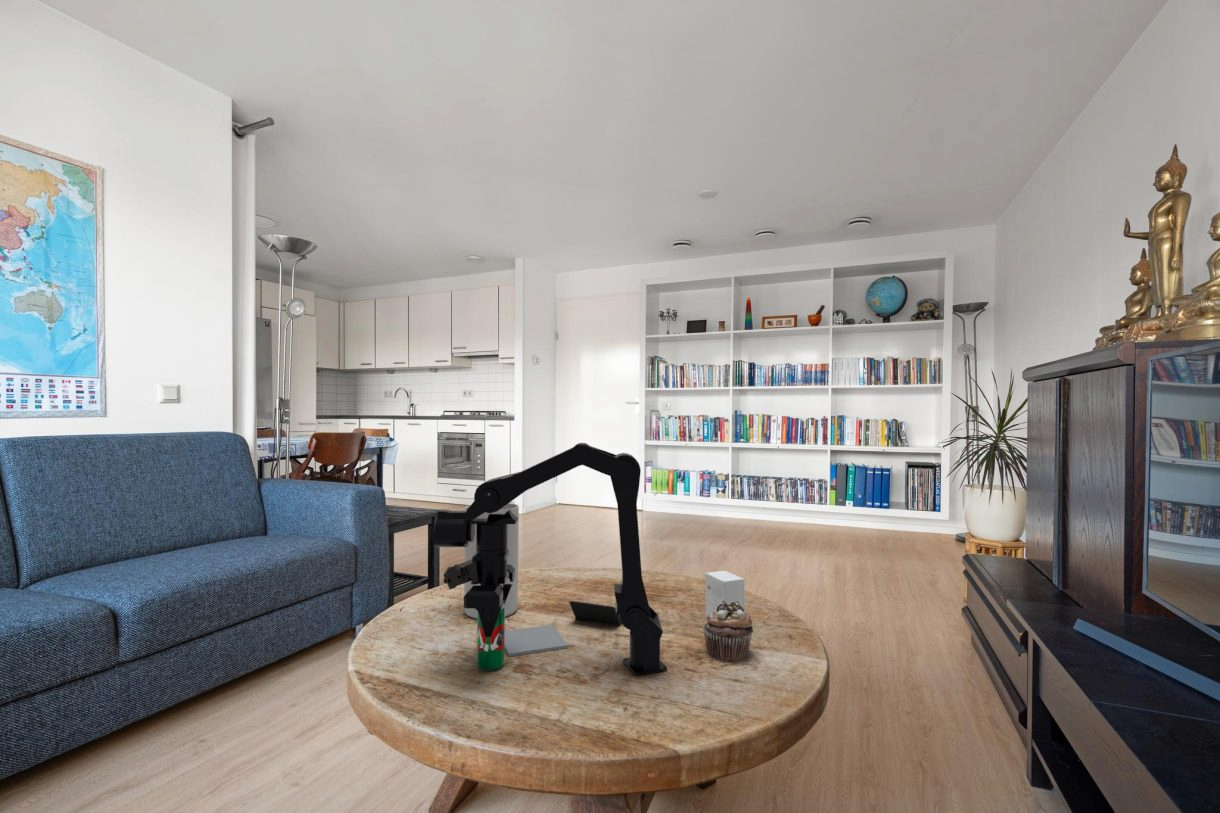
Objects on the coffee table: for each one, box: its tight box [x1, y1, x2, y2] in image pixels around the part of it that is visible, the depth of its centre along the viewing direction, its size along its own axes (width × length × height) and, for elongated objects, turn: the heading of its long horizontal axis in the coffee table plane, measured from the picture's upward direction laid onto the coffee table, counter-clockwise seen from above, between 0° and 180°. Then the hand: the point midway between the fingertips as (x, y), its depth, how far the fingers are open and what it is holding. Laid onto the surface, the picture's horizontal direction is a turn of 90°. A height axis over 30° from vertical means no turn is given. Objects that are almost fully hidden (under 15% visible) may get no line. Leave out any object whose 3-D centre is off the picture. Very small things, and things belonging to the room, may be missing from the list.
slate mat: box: [505, 624, 569, 658], centre depth 117 cm, size 12×12×1 cm
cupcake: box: [702, 601, 754, 662], centre depth 112 cm, size 10×10×10 cm
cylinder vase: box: [463, 502, 520, 620], centre depth 135 cm, size 12×12×25 cm
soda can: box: [476, 604, 506, 672], centre depth 106 cm, size 5×5×12 cm
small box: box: [704, 570, 746, 618], centre depth 130 cm, size 8×6×10 cm
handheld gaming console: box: [569, 600, 622, 627], centre depth 129 cm, size 12×7×10 cm
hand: (491, 631), depth 106 cm, fingers closed on soda can, 5 cm apart
